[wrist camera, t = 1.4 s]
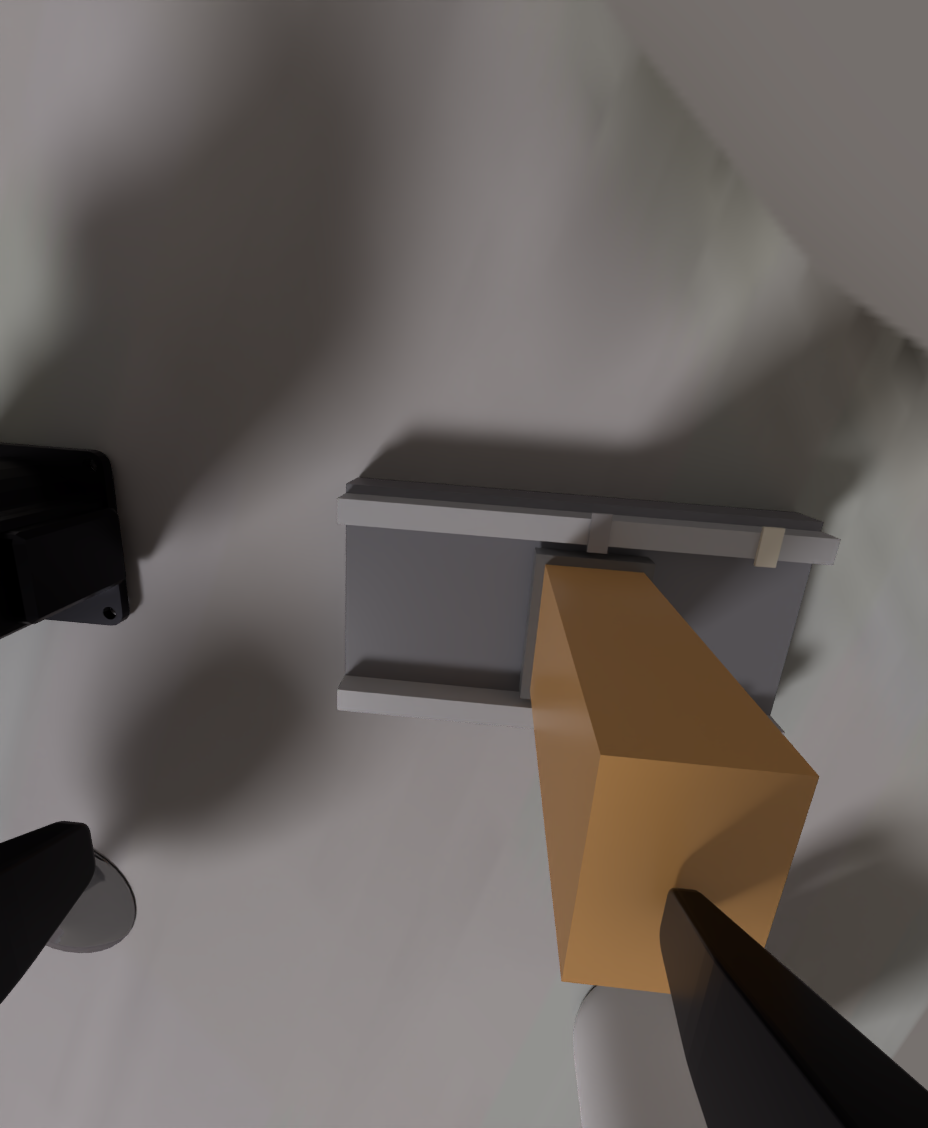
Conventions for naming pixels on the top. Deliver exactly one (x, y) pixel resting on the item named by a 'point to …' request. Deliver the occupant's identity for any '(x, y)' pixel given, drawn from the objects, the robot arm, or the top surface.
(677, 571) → the rail
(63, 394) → the top surface
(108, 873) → the wine glass
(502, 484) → the top surface
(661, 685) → the fader tab
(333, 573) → the top surface
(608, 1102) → the cup
